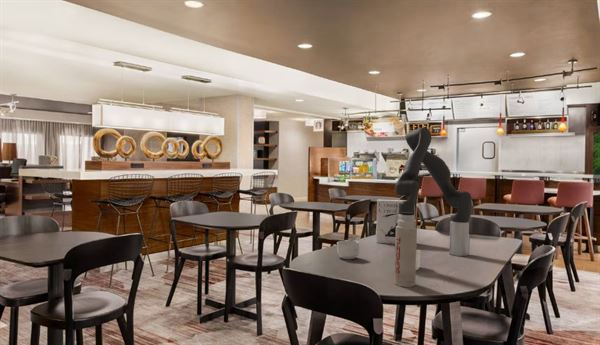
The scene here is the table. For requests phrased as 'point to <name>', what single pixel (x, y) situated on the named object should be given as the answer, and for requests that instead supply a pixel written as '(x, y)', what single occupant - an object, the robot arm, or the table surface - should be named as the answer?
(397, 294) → the table surface
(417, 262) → the cream colored box
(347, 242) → the teacup
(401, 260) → the thermos bottle
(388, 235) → the cereal box
